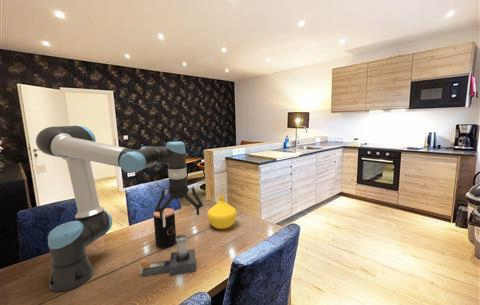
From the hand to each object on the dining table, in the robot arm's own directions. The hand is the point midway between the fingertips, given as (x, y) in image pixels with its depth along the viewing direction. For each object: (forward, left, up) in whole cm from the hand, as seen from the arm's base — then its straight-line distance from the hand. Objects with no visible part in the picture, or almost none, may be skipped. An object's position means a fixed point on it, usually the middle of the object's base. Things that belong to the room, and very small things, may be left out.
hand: (180, 223), depth 100 cm
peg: (0, 0, -20) cm, 20 cm away
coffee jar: (-9, +22, -21) cm, 31 cm away
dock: (-6, 0, -20) cm, 21 cm away
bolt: (-13, 0, -20) cm, 24 cm away
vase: (+24, +34, -21) cm, 46 cm away
